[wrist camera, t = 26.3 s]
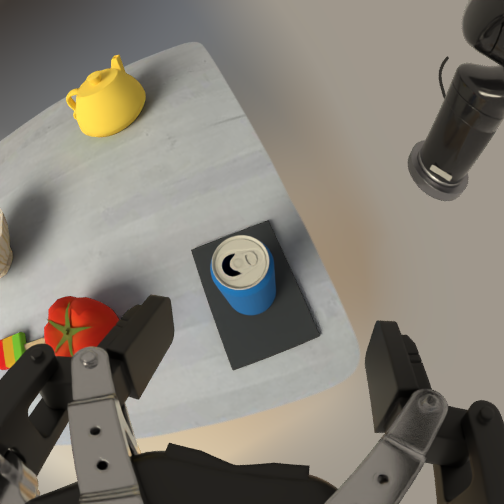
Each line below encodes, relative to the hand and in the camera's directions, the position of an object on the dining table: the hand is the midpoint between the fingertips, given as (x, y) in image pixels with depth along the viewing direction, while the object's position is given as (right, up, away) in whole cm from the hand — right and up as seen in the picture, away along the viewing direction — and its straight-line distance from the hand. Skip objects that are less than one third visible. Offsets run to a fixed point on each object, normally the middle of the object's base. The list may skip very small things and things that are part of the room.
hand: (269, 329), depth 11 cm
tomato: (-24, -10, +29) cm, 39 cm away
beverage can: (-1, -3, +30) cm, 30 cm away
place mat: (-1, -3, +30) cm, 30 cm away
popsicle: (-42, -15, +29) cm, 53 cm away
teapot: (-33, +35, +49) cm, 69 cm away
